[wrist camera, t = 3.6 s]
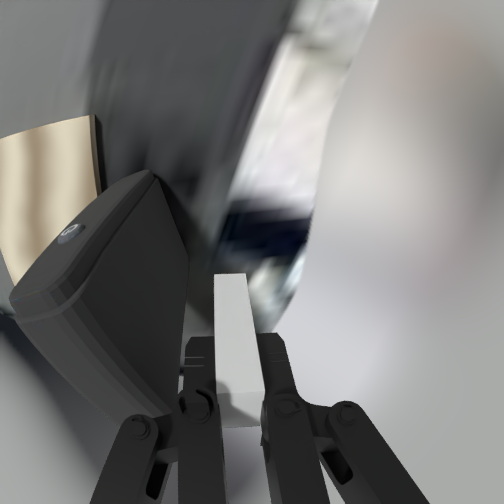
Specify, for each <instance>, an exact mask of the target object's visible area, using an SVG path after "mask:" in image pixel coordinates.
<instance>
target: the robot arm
mask: <svg viewBox="0 0 504 504" xmlns="http://www.w3.org/2000/svg"><path fill="white" fill-rule="evenodd" d="M214 322H215V336H210V337H191V338H190V340H189V342H188V343H187V345H186V349H185V363H184V366H185V367H184V381H183V390H182V391H181V392H180V393H179V394H178V395H177V396H176V400H175V405H176V408H177V409H176V410H175V411H173V412H172V413H169V414H167V415H163V416H159V417H155V418H151V417H149V416H147V415H144V414H135V415H131V416H129V417H128V418H126V419H125V420H124V422H123V423H122V425H121V427H120V429H119V432H118V434H117V436H116V439H115V441H114V443H113V446H112V448H111V450H110V453H109V455H108V458H107V460H106V463H105V465H104V467H103V470H102V473H101V475H100V477H99V480H98V483H97V485H96V488H95V490H94V493H93V496H92V498H91V501H90V504H160V503H161V500H162V496H163V493H164V490H165V487H166V483H167V480H168V477H169V474H170V470H171V467H172V463H173V462H177V461H178V501H179V504H229V503H228V493H227V482H226V471H225V460H224V447H223V438H222V428H237V427H252V426H260V424H261V428H262V437H261V446H263V451H264V458H265V465H266V472H267V478H268V484H269V491H270V497H271V503H272V504H330V501H329V497H328V493H327V489H326V485H325V481H324V477H323V473H322V469H321V465H320V462H321V463H322V465H323V466H324V468H325V470H326V472H327V474H328V475H329V477H330V479H331V480H332V482H333V484H334V485H335V487H336V489H337V490H338V492H339V494H340V495H341V497H342V499H343V500H344V502H345V504H430V503H429V502H428V500H427V499H426V498H425V496H424V495H423V494H422V492H421V491H420V489H419V488H418V486H417V485H416V484H415V482H414V481H413V479H412V478H411V477H410V475H409V474H408V472H407V471H406V470H405V468H404V467H403V465H402V464H401V462H400V461H399V460H398V458H397V457H396V455H395V454H394V453H393V451H392V450H391V448H390V447H389V446H388V444H387V443H386V441H385V440H384V439H383V437H382V436H381V434H380V433H379V432H378V430H377V429H376V427H375V426H374V424H373V423H372V422H371V420H370V419H369V417H368V416H367V415H366V413H365V412H364V410H363V409H362V408H361V407H360V406H359V405H358V404H356V403H354V402H351V401H341V402H338V403H336V404H335V405H333V406H332V407H327V406H319V405H314V404H310V403H308V402H306V401H305V400H303V399H302V398H301V397H300V396H299V394H298V392H297V389H296V386H295V382H294V378H293V374H292V370H291V366H290V362H289V359H288V355H287V351H286V347H285V343H284V341H283V339H282V338H281V337H280V336H279V335H278V334H277V333H263V334H255V329H254V323H253V317H252V311H251V305H250V299H249V292H248V286H247V280H246V274H214ZM319 460H320V461H319Z"/></svg>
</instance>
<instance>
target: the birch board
mask: <svg viewBox="0 0 504 504" xmlns="http://www.w3.org/2000/svg"><path fill="white" fill-rule="evenodd" d="M100 194H102V191H101V184H100V176H99V167H98V157H97V146H96V132H95V114H94V115H89V116H84V117H79V118H74V119H69V120H65V121H60V122H56V123H52V124H48V125H44V126H41V127H37V128H33V129H30V130H27V131H23V132H20V133H17V134H14V135H11V136H8V137H5V138H2V139H0V248H1V251H2V254H3V257H4V260H5V263H6V265H7V268H8V271H9V273H10V276H11V278H12V281H13V283H14V286H16V284H17V283H18V282H19V280H20V279H21V278H22V277H23V275H24V274H25V273H26V271H27V270H28V269H29V268H30V266H31V265H32V264H33V263H34V262H35V260H36V259H37V258H38V257H39V256H40V255H41V253H42V252H43V251H44V250H45V249H46V248H47V247H48V246H49V244H50V243H51V242H52V241H53V240H54V239H55V238H56V237H57V236H58V235H59V234H60V233H61V232H62V230H63V229H64V228H65V227H66V226H67V225H68V224H69V223H70V222H71V221H72V220H73V219H74V218H75V217H76V216H77V215H78V214H79V213H80V212H81V211H82V210H83V209H84V208H85V207H87V206H88V205H89V204H90V203H91V202H92V201H93V200H94V199H96V198H97V197H98V196H99V195H100Z"/></svg>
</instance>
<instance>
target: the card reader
mask: <svg viewBox="0 0 504 504" xmlns="http://www.w3.org/2000/svg"><path fill="white" fill-rule="evenodd" d="M188 263H189V257H188V254H187V252H186V250H185V247H184V245H183V242H182V240H181V237H180V235H179V232H178V230H177V227H176V225H175V222H174V220H173V217H172V215H171V212H170V210H169V207H168V204H167V202H166V199H165V196H164V194H163V191H162V188H161V186H160V183H159V180H158V178H156V177H154V176H153V173H152V172H151V171H150V170H142V171H140V172H137V173H135V174H132V175H129V176H127V177H124V178H122V179H120V180H118V181H117V182H115V183H114V184H113V185H111V186H110V187H109V188H108V189H106V190H105V191H104V192H103V193H102V194H100V195H99V196H98V197H97V198H96V199H94V200H93V201H92V202H91V203H90V204H89V205H88V206H87V207H85V208H84V209H83V210H82V211H81V212H80V213H79V214H78V215H77V216H76V217H75V218H74V219H73V220H72V221H71V222H70V223H69V224H68V225H67V226H66V227H65V228H64V229H63V230H62V232H61V233H60V234H59V235H58V236H57V237H56V238H55V239H54V240H53V241H52V242H51V243H50V244H49V246H48V247H47V248H46V249H45V250H44V251H43V252H42V253H41V255H40V256H39V257H38V258H37V259H36V260H35V262H34V263H33V264H32V265H31V266H30V268H29V269H28V270H27V271H26V273H25V274H24V275H23V277H22V278H21V279H20V280H19V282H18V283H17V284H16V286H15V287H14V289H13V290H12V292H11V293H10V296H9V301H10V304H11V306H12V307H13V309H14V310H15V311H16V316H15V321H16V322H17V324H18V326H19V327H20V328H21V330H23V332H24V333H25V335H26V336H27V337H28V338H29V340H30V341H31V342H32V343H33V344H34V346H35V347H36V348H37V349H38V350H39V351H40V353H41V354H42V355H43V356H44V357H45V358H46V359H47V360H48V362H49V363H50V364H51V365H52V366H53V367H54V368H55V369H56V370H57V371H58V372H59V373H60V374H61V375H62V376H63V377H64V378H65V379H66V380H67V381H68V382H69V383H70V384H71V385H72V386H73V387H74V388H75V389H76V390H77V391H78V392H79V393H80V394H81V395H82V396H83V397H84V398H86V399H87V400H88V401H89V402H90V403H91V404H92V405H93V406H95V407H96V408H97V409H98V410H99V411H100V412H102V413H103V414H104V415H105V416H106V417H108V418H109V419H110V420H111V421H113V422H114V423H115V424H116V425H119V426H121V425H122V423H123V422H124V420H125V419H126V418H128V417H129V416H131V415H135V414H144V415H147V416H149V417H151V418H155V417H159V416H163V415H167V414H169V413H172V412H173V411H175V410H176V409H177V408H176V405H175V400H176V396H177V395H178V382H179V368H180V355H181V344H182V333H183V322H184V313H185V303H186V293H187V283H188V274H189V264H188Z"/></svg>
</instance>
